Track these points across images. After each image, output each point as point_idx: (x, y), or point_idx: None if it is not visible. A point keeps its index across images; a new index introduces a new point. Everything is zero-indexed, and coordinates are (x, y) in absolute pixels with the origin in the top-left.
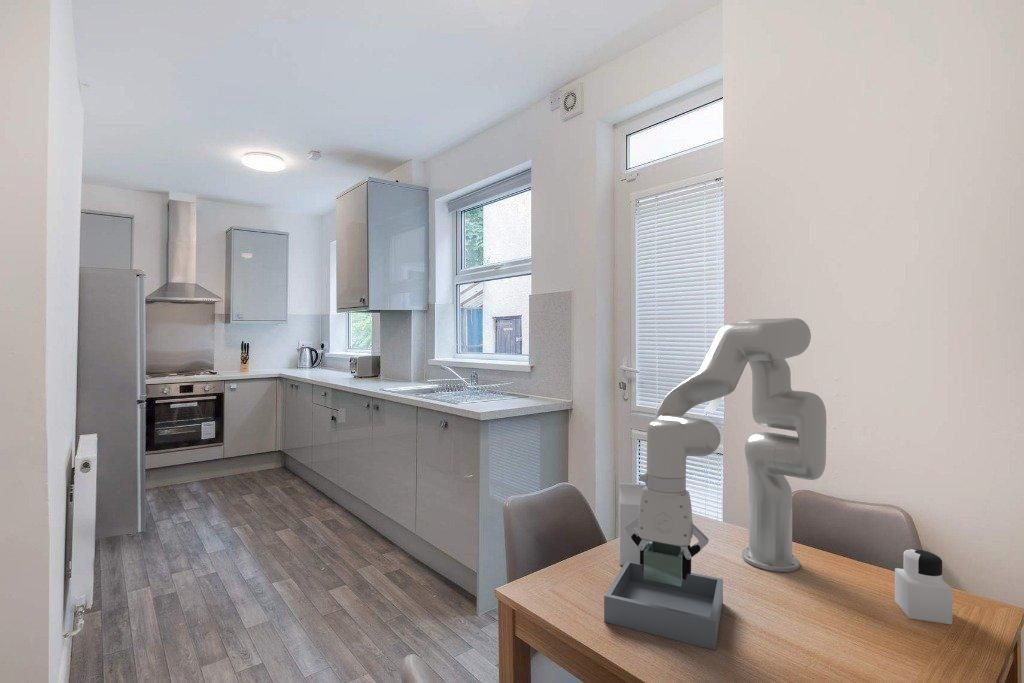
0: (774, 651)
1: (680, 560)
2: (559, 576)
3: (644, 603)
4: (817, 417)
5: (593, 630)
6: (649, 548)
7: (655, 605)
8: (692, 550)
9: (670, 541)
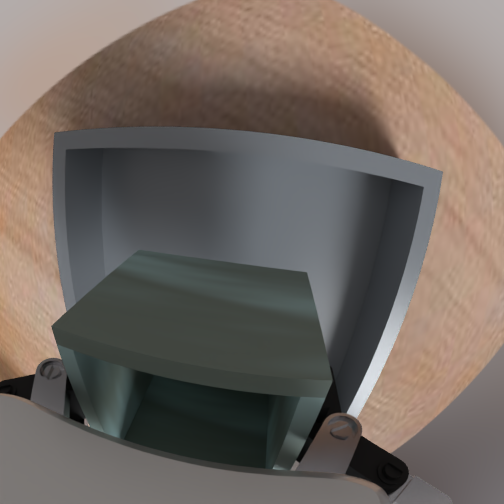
0: (19, 192)
1: (63, 320)
2: (479, 346)
3: (291, 152)
4: None
5: (419, 115)
6: (284, 432)
7: (244, 150)
8: (25, 393)
9: (77, 448)
